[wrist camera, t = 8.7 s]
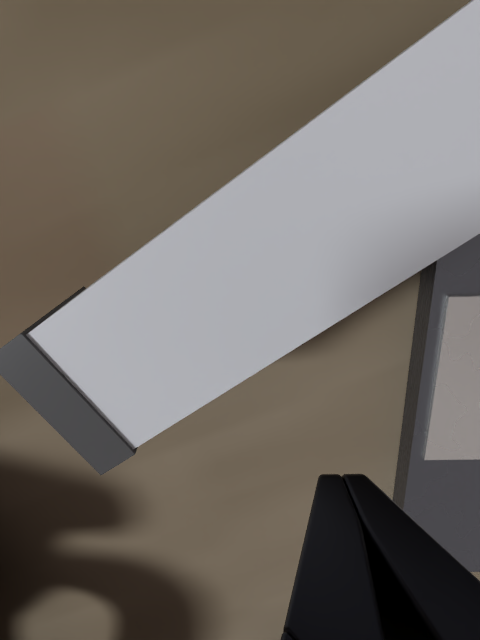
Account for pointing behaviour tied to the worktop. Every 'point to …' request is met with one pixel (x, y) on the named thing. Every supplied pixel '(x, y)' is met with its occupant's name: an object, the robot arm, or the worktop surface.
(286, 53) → the worktop surface
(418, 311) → the label board
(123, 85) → the worktop surface
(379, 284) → the swing arm
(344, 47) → the worktop surface
